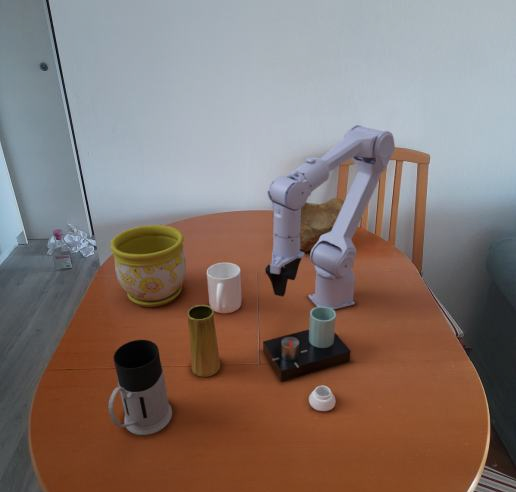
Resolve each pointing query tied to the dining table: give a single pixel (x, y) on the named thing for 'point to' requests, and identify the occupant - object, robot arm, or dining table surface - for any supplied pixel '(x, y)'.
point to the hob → (305, 356)
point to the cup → (322, 327)
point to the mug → (224, 287)
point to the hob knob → (290, 348)
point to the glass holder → (141, 388)
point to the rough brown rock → (317, 221)
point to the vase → (203, 341)
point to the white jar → (322, 399)
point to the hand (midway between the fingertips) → (285, 286)
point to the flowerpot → (150, 263)
